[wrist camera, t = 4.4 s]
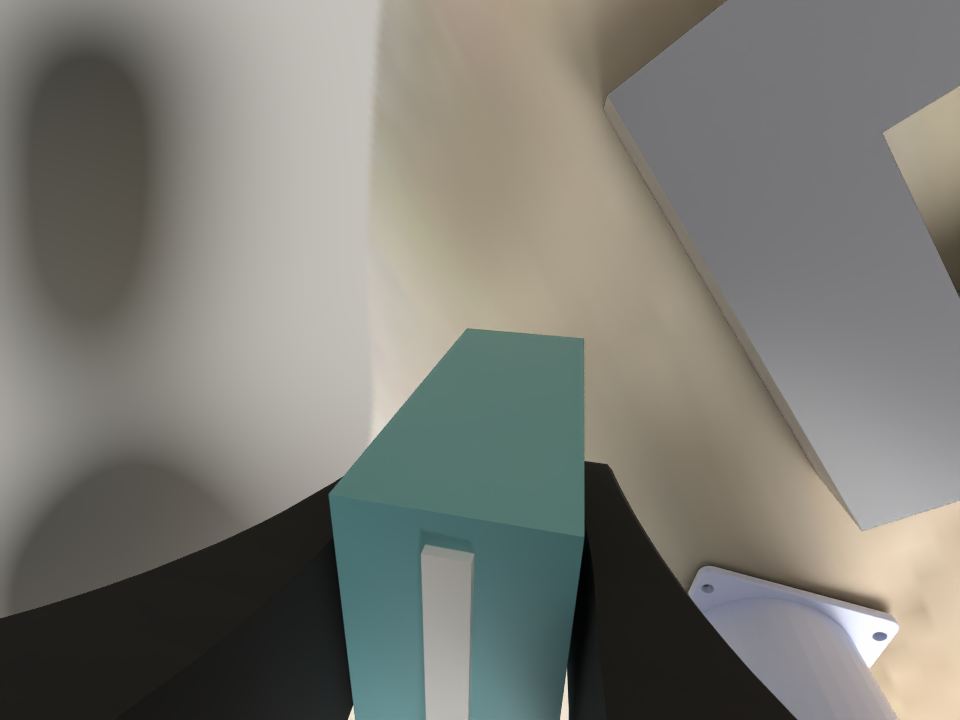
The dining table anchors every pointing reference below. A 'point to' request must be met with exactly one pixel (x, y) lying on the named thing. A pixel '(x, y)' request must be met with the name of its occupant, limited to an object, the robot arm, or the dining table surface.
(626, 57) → the dining table surface
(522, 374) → the keyed peg
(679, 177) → the keyed socket
